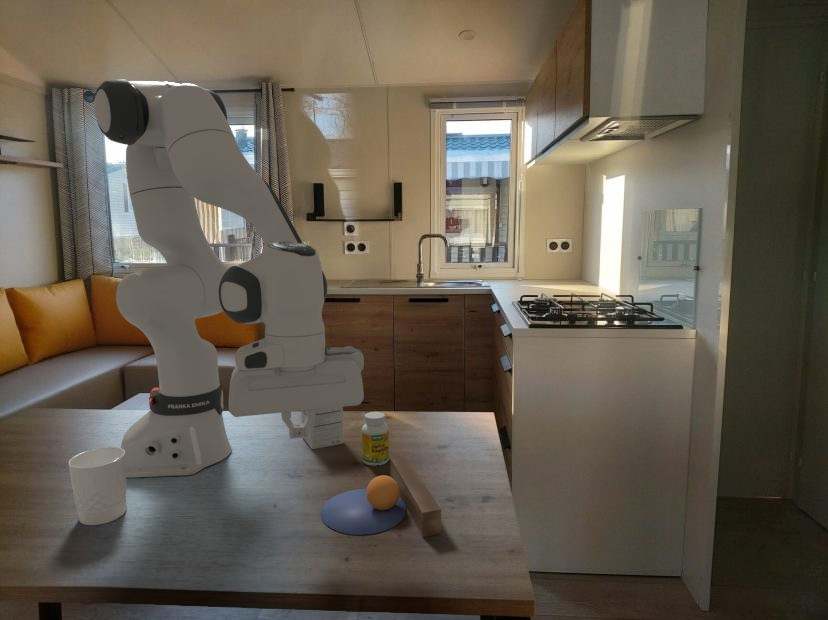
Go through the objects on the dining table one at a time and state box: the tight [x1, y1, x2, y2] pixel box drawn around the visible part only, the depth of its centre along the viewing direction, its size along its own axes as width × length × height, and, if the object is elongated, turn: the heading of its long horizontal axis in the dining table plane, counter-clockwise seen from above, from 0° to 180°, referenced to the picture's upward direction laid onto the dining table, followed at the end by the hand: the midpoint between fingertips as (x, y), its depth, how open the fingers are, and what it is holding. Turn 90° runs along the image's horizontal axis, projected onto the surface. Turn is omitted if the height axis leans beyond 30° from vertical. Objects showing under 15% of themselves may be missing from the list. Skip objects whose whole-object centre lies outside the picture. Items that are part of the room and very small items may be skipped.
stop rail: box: [389, 455, 442, 538], centre depth 90 cm, size 3×20×4 cm, turn 17°
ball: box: [366, 474, 400, 510], centre depth 89 cm, size 6×6×6 cm
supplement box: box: [300, 407, 344, 450], centre depth 116 cm, size 7×7×13 cm
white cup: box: [67, 446, 128, 526], centre depth 87 cm, size 8×8×10 cm
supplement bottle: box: [361, 411, 390, 467], centre depth 106 cm, size 5×5×10 cm
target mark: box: [320, 488, 407, 536], centre depth 88 cm, size 14×14×1 cm
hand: (299, 436), depth 83 cm, fingers closed
